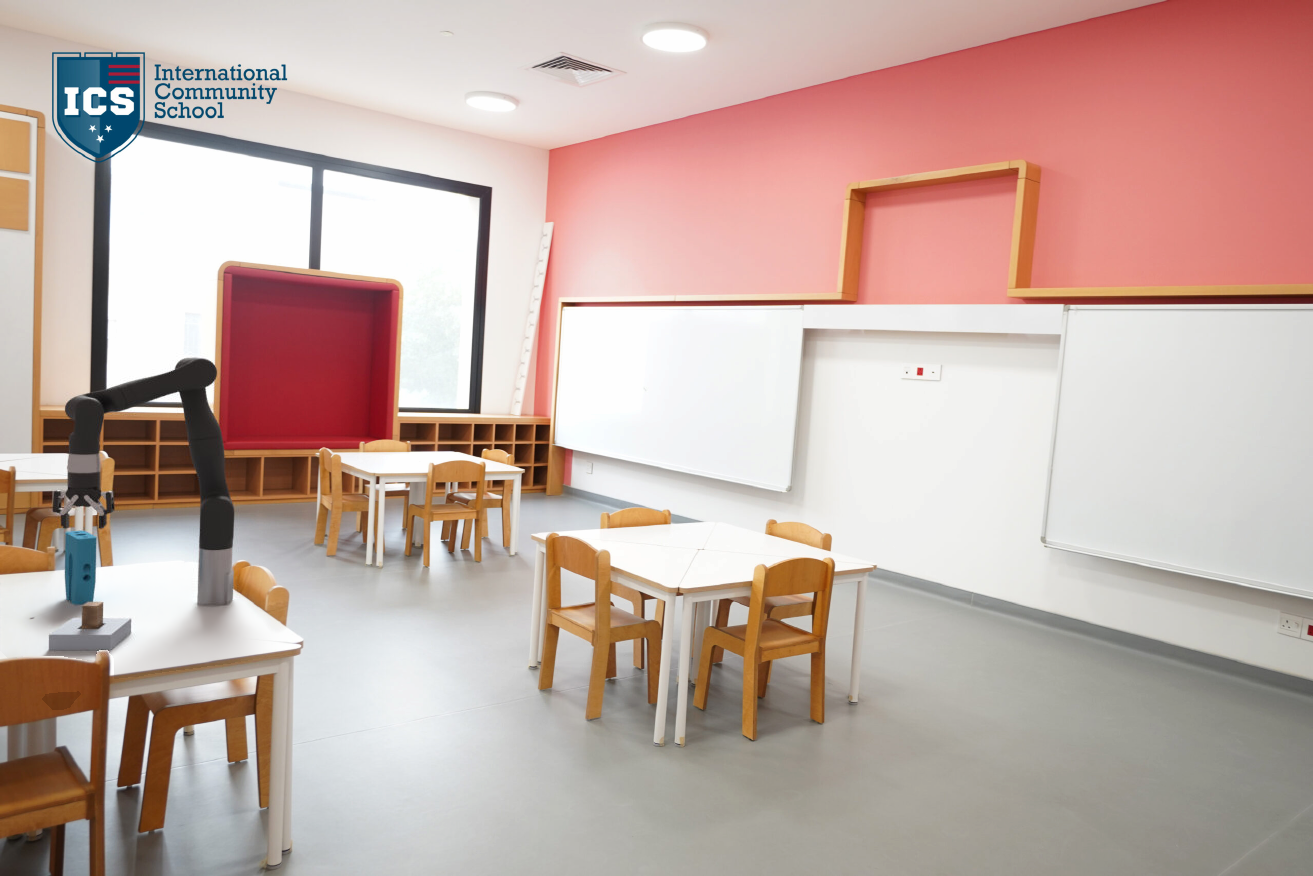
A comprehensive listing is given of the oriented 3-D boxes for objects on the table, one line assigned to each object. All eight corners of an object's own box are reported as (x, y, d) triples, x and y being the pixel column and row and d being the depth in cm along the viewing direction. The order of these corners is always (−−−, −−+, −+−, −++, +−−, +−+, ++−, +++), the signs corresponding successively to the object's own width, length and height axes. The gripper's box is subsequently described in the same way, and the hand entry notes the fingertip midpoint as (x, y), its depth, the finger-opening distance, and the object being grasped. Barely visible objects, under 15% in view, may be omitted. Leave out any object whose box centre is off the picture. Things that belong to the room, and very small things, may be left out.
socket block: (131, 632, 235) (131, 618, 234) (110, 650, 221) (110, 634, 221) (73, 632, 231) (73, 617, 231) (48, 650, 218) (48, 634, 218)
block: (96, 603, 256) (97, 537, 255) (76, 606, 253) (77, 539, 251) (82, 594, 264) (83, 530, 262) (63, 597, 260) (64, 531, 259)
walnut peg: (102, 639, 228) (103, 601, 228) (96, 643, 225) (97, 605, 224) (87, 638, 228) (88, 601, 227) (81, 643, 224) (82, 605, 223)
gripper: (118, 468, 242) (117, 525, 243) (60, 467, 238) (59, 525, 239) (108, 472, 234) (108, 531, 236) (48, 470, 231) (48, 530, 232)
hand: (83, 528), depth 238 cm, fingers open, 8 cm apart
